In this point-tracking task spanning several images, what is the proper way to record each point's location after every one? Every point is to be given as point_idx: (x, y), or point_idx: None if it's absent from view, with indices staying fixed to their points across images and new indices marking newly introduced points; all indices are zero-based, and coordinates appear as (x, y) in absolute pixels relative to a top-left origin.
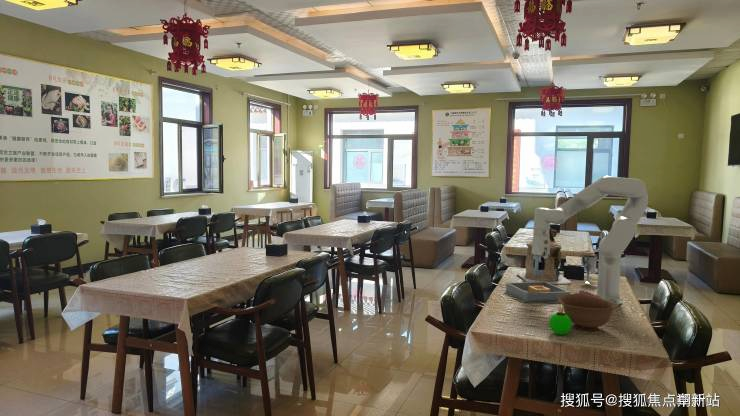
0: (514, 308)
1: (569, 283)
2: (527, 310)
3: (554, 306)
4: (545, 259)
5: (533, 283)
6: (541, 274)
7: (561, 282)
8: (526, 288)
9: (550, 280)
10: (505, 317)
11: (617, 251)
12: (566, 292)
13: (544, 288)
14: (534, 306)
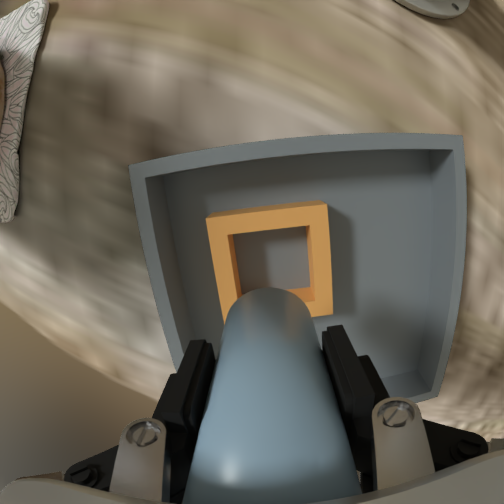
0: (457, 413)
1: (48, 5)
2: (487, 381)
3: (490, 271)
4: (473, 445)
5: (165, 273)
6: (311, 318)
7: (27, 38)
8: (185, 308)
9: (2, 89)
10: (495, 430)
11: None
12: (463, 162)
13: (275, 228)
14: (467, 352)
